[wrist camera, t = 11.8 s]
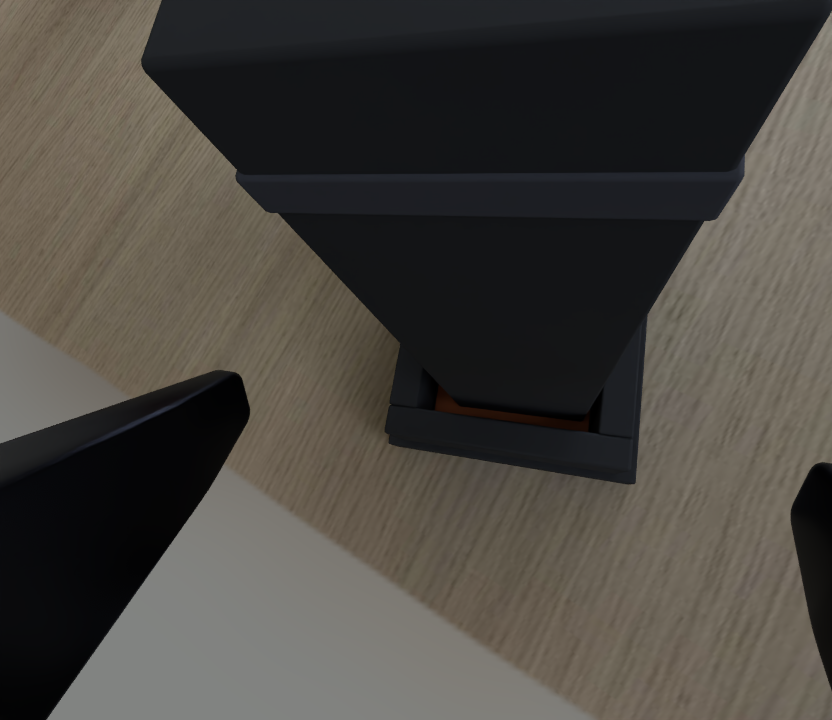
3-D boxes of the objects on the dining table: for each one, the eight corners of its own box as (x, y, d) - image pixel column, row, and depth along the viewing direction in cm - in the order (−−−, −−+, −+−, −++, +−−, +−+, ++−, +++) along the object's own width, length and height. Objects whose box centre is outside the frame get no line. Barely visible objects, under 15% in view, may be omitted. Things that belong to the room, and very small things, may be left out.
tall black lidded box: (584, 423, 15) (855, 14, 2) (457, 407, 16) (125, 73, 3) (597, 274, 16) (827, -592, 3) (477, 269, 18) (290, -394, 4)
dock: (629, 484, 16) (651, 483, 13) (395, 445, 18) (366, 436, 15) (647, 247, 17) (669, 196, 14) (433, 238, 20) (413, 193, 17)
